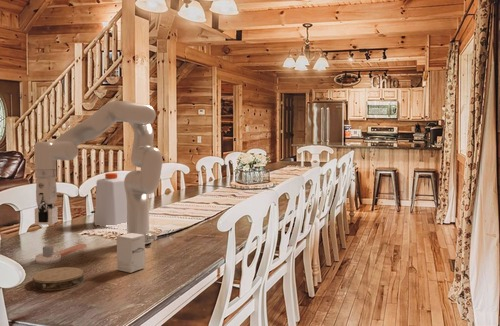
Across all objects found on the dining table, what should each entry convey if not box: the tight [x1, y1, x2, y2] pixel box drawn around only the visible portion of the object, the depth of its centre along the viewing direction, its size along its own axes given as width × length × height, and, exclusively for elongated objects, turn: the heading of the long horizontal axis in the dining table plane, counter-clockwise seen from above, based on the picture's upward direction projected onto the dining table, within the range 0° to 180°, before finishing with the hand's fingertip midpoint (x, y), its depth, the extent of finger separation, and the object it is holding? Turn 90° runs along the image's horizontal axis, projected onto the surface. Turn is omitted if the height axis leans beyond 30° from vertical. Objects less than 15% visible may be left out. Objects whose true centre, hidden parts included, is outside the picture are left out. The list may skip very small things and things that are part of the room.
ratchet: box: [35, 243, 87, 265], centre depth 198 cm, size 9×26×6 cm, turn 164°
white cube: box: [34, 205, 59, 226], centre depth 188 cm, size 6×6×6 cm
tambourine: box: [32, 266, 84, 291], centre depth 165 cm, size 16×16×3 cm
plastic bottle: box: [94, 172, 127, 227], centre depth 256 cm, size 15×15×28 cm
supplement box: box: [116, 233, 146, 273], centre depth 179 cm, size 7×7×13 cm
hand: (46, 220), depth 189 cm, fingers closed on white cube, 6 cm apart
